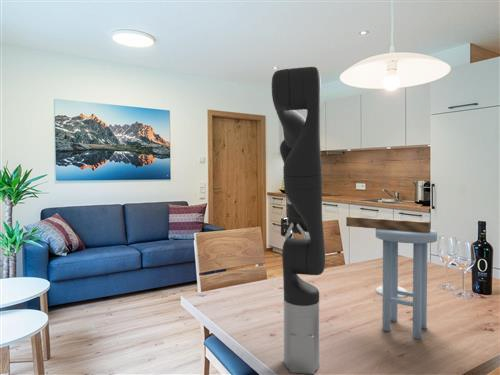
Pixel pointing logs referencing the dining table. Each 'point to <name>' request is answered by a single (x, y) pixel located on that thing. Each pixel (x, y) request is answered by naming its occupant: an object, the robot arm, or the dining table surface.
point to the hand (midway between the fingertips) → (299, 251)
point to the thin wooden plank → (389, 224)
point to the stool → (391, 276)
